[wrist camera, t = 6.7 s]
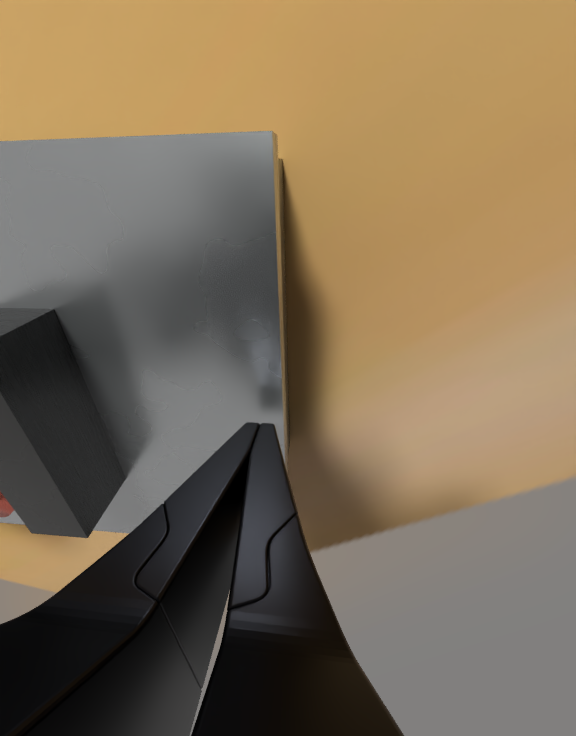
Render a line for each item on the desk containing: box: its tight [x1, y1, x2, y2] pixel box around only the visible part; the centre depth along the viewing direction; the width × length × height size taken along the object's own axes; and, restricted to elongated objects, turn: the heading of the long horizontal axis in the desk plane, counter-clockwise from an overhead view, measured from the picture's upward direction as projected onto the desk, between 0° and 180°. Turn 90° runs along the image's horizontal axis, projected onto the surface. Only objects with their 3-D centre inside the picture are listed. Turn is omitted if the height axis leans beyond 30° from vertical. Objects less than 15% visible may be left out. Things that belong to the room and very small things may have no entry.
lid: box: [0, 131, 288, 538], centre depth 10 cm, size 15×15×3 cm
